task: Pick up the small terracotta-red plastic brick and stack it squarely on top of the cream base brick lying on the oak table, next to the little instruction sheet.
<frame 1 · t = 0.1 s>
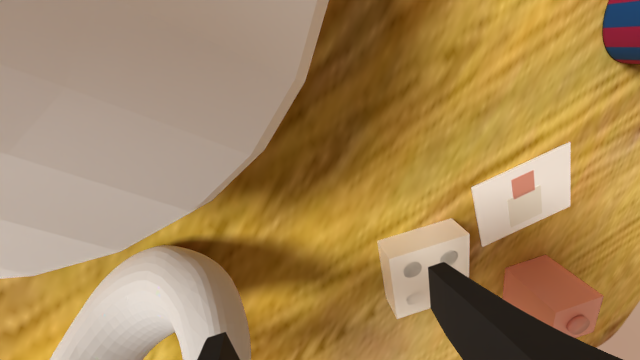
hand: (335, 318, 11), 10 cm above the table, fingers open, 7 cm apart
instruction sheet: (522, 196, 24), on the table
red brick: (523, 277, 28), on the table
toy: (177, 275, 20), on the table
base brick: (415, 257, 24), on the table
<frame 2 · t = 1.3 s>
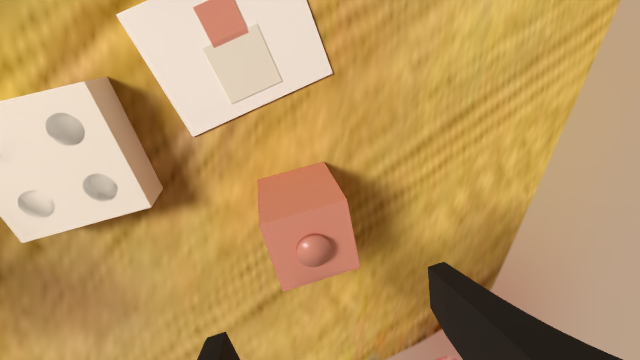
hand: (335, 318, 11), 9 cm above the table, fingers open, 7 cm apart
instruction sheet: (234, 46, 15), on the table
red brick: (298, 199, 19), on the table
base brick: (80, 150, 15), on the table
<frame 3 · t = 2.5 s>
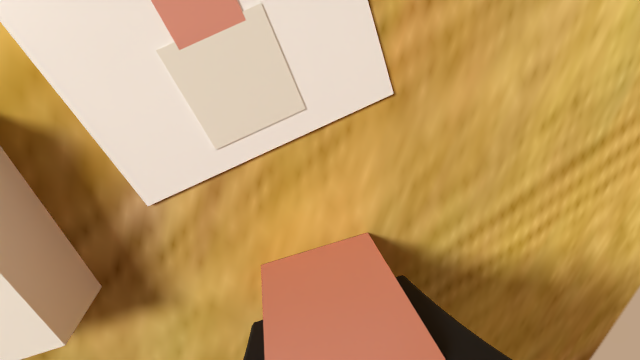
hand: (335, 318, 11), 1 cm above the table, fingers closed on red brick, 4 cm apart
instruction sheet: (219, 47, 8), on the table
red brick: (326, 288, 12), on the table, touching gripper
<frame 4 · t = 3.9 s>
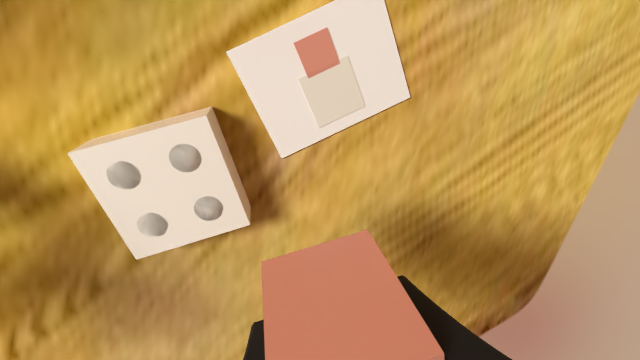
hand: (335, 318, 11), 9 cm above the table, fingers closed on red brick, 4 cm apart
instruction sheet: (325, 76, 16), on the table
red brick: (326, 285, 12), point 7 cm above the table, touching gripper
base brick: (179, 172, 17), on the table
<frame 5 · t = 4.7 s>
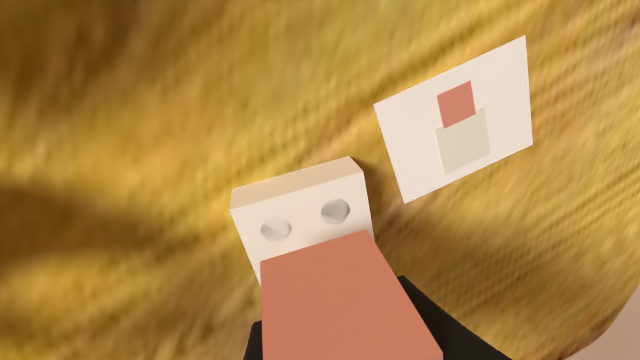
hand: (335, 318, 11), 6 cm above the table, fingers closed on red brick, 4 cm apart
instruction sheet: (459, 126, 16), on the table
red brick: (325, 285, 12), point 5 cm above the table, touching gripper
base brick: (304, 218, 17), on the table
when the fingers open (5 cm above the table, at t = 5.3 s): red brick drops 2 cm, resting on base brick.
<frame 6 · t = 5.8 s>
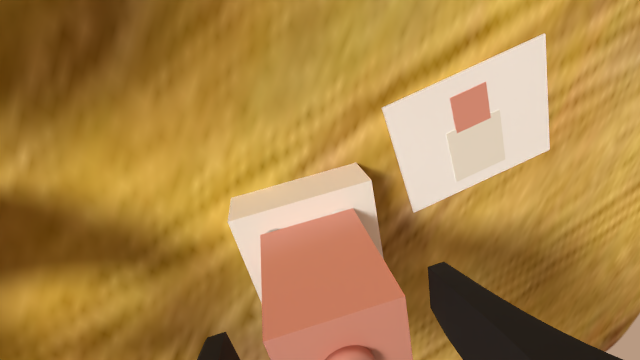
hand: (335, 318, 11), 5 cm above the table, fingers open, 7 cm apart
instruction sheet: (472, 130, 15), on the table
red brick: (317, 258, 13), point 2 cm above the table, touching base brick
base brick: (307, 227, 16), on the table, touching red brick
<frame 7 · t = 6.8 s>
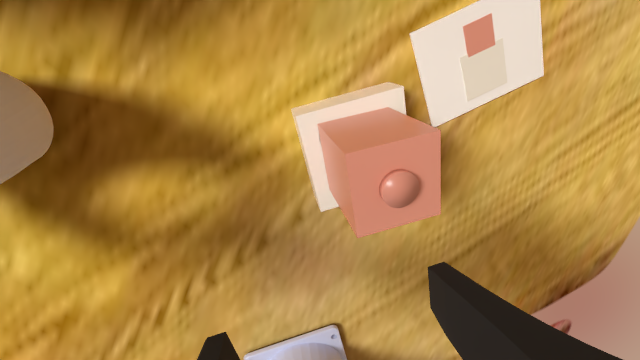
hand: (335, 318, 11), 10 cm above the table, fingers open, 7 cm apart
instruction sheet: (480, 56, 18), on the table
red brick: (357, 149, 17), point 2 cm above the table, touching base brick
toy: (18, 141, 16), on the table
base brick: (347, 140, 20), on the table, touching red brick
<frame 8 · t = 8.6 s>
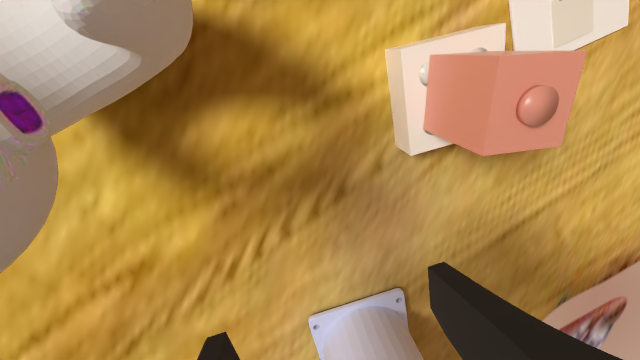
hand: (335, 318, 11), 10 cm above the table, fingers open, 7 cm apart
instruction sheet: (570, 1, 19), on the table
red brick: (459, 91, 17), point 2 cm above the table, touching base brick
toy: (122, 67, 16), on the table
base brick: (432, 88, 19), on the table, touching red brick
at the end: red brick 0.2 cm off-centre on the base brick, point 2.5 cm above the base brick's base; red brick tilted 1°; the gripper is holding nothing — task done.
